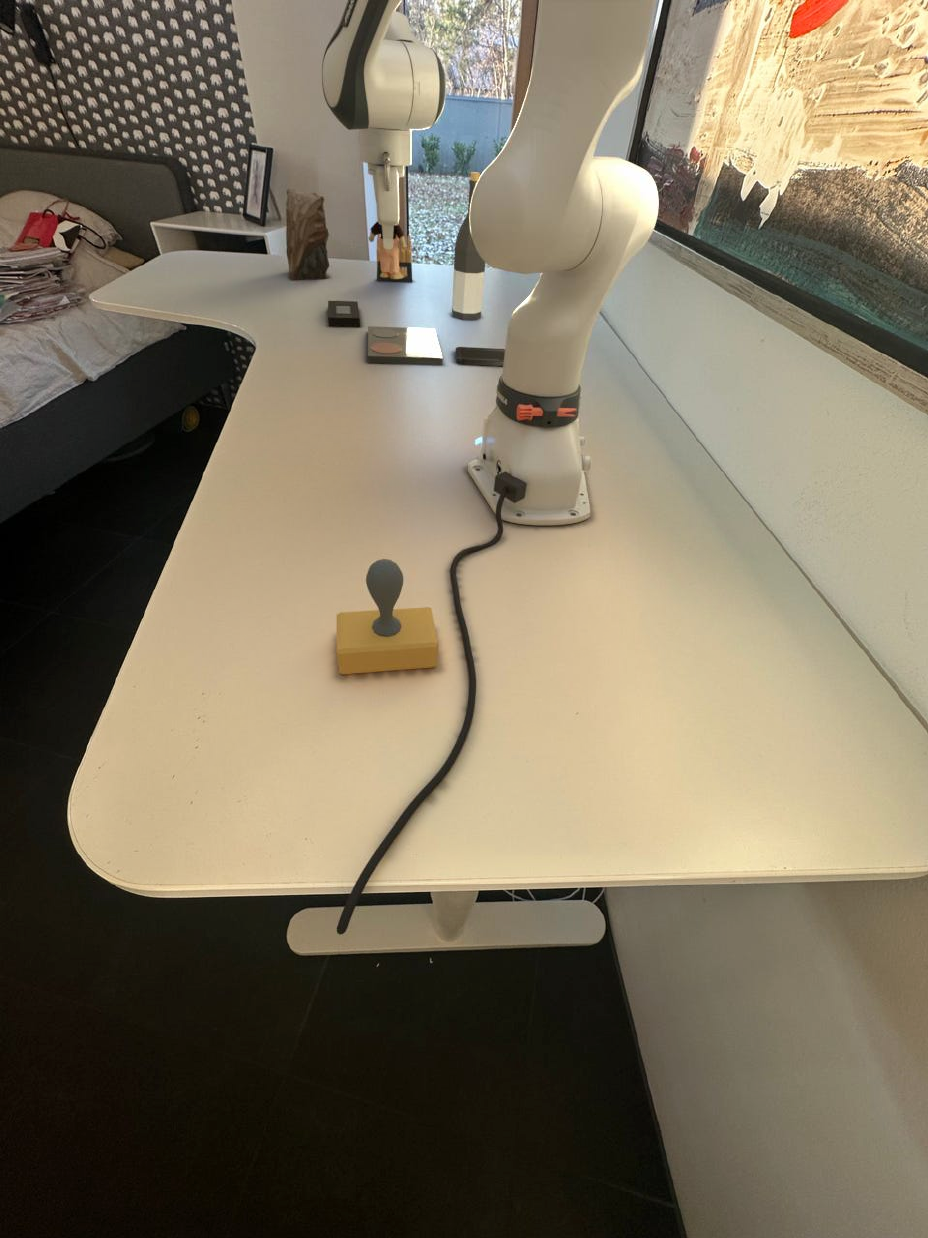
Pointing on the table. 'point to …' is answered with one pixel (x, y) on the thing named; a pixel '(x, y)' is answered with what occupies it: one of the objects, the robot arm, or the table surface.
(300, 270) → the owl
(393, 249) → the grandmother figurine
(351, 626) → the rubber stamp
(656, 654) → the table surface
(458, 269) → the wine bottle
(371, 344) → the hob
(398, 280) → the ammunition clip
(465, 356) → the phone
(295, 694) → the table surface
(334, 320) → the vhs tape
